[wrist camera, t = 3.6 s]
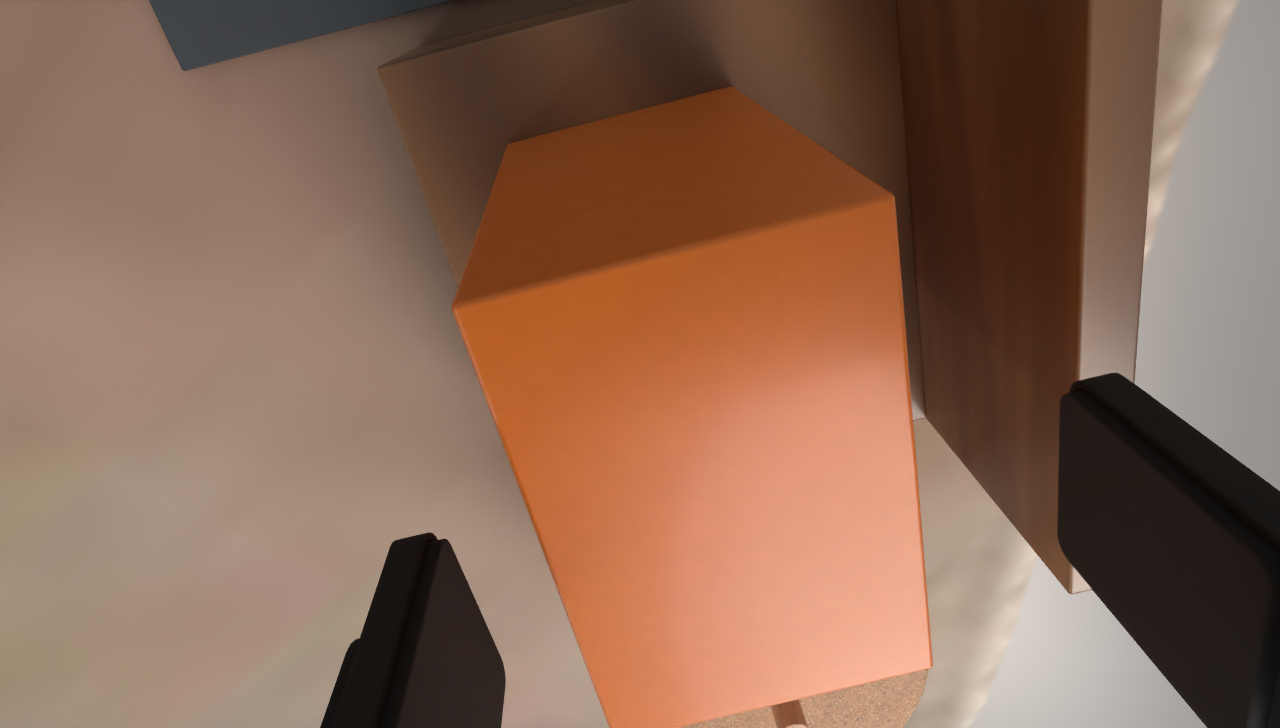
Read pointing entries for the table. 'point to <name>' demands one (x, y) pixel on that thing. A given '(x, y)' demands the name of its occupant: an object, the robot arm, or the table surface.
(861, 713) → the trinket box
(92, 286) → the table surface
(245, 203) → the table surface
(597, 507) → the block
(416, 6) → the mat
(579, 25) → the wooden toy chair
